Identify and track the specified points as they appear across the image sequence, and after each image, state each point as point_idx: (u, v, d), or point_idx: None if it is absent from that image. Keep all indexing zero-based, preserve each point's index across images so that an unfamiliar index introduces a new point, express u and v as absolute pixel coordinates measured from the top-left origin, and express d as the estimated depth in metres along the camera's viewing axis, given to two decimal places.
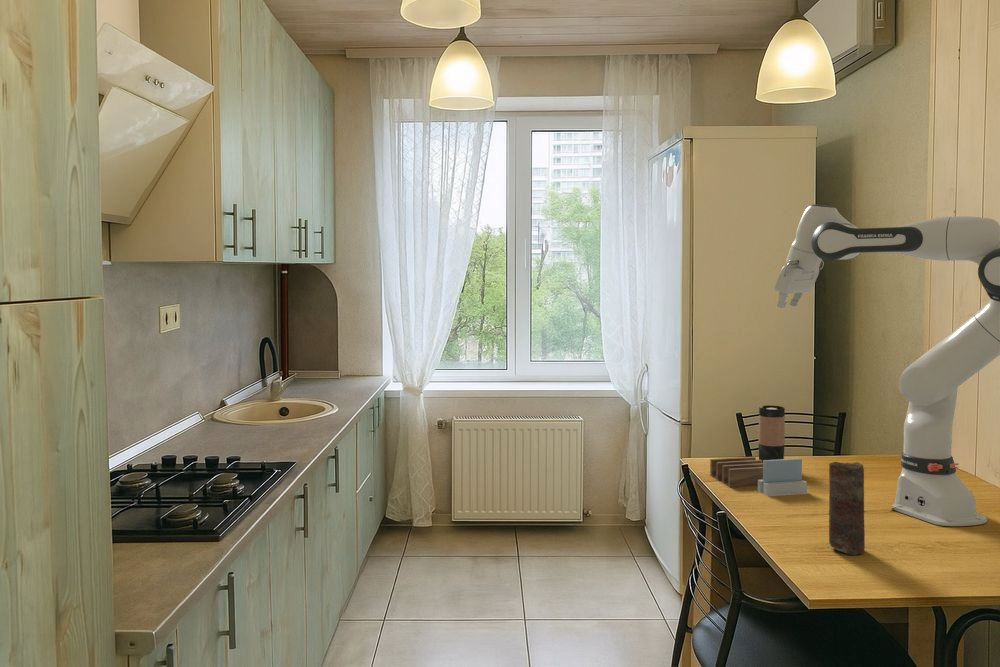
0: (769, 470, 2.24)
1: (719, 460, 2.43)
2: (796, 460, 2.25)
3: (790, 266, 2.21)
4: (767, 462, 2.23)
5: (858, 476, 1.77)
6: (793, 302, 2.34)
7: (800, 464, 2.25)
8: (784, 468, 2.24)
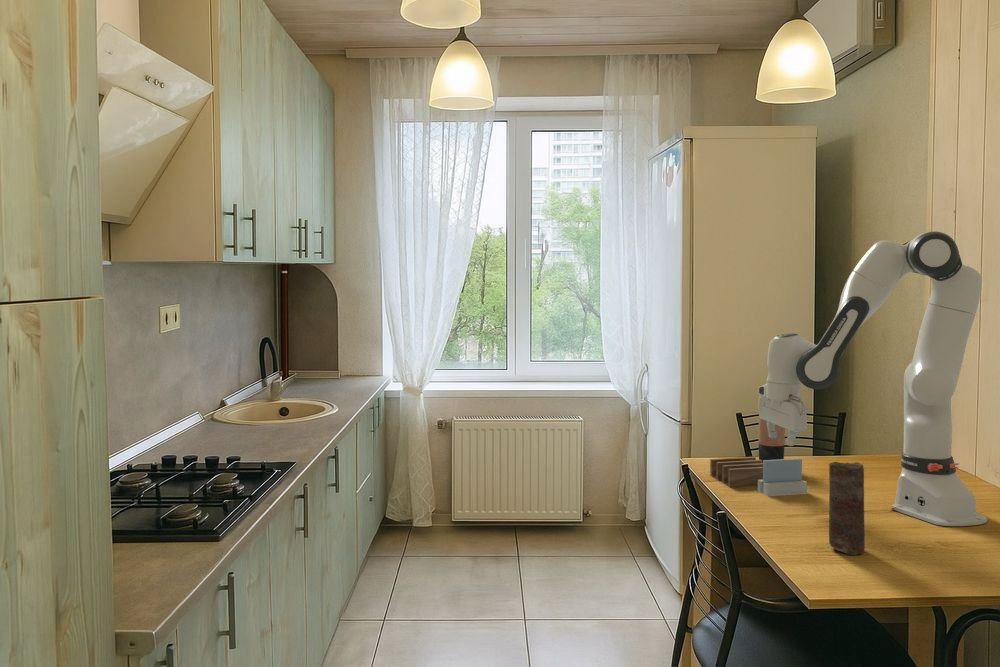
0: (769, 470, 2.24)
1: (719, 460, 2.43)
2: (796, 460, 2.25)
3: None
4: (767, 462, 2.23)
5: (858, 476, 1.77)
6: (773, 434, 2.28)
7: (800, 464, 2.25)
8: (784, 468, 2.24)
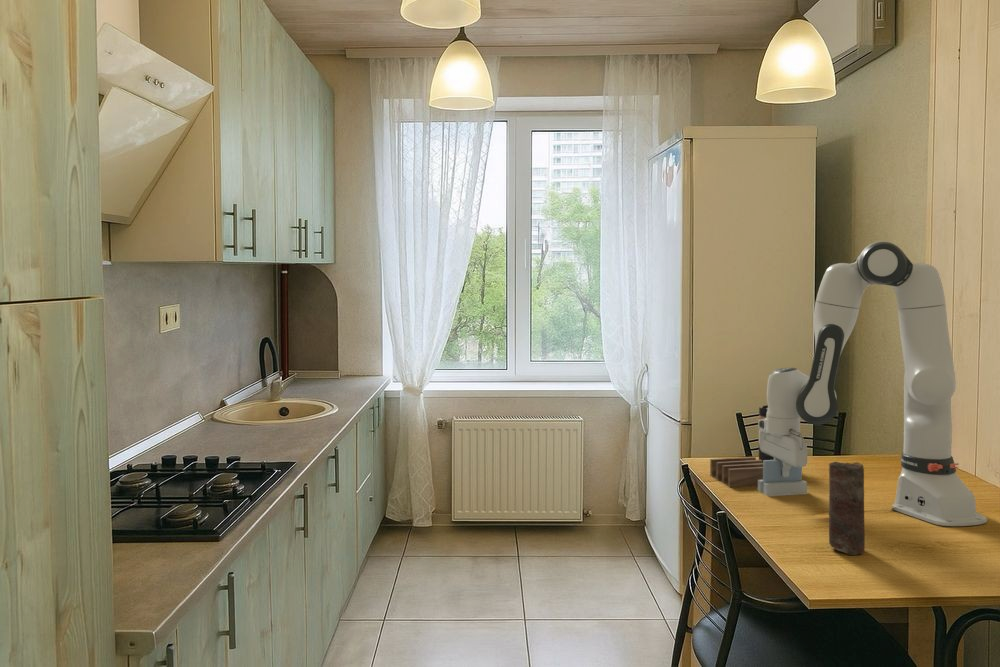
0: (769, 470, 2.24)
1: (719, 460, 2.43)
2: None
3: None
4: (767, 462, 2.23)
5: (858, 476, 1.77)
6: None
7: None
8: None
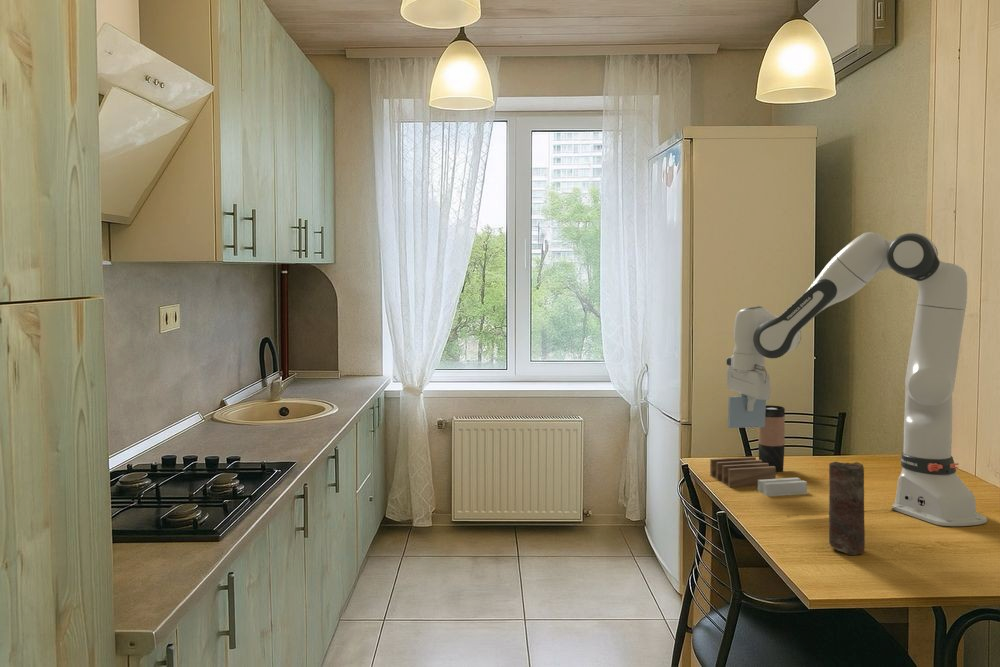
0: (734, 406, 2.33)
1: (719, 460, 2.43)
2: None
3: None
4: (732, 398, 2.33)
5: (858, 476, 1.77)
6: None
7: (764, 401, 2.35)
8: None
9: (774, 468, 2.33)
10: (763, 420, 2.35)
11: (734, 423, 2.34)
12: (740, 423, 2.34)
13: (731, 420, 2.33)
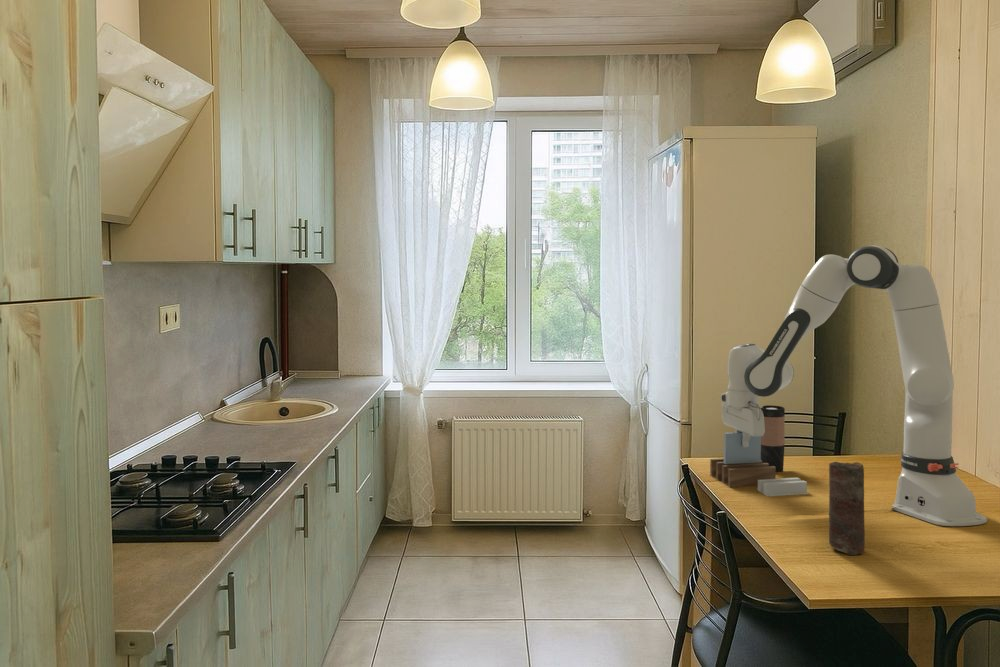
0: (730, 442, 2.36)
1: (719, 460, 2.43)
2: None
3: None
4: (727, 435, 2.36)
5: (858, 476, 1.77)
6: None
7: (759, 437, 2.38)
8: None
9: (774, 468, 2.33)
10: (759, 455, 2.38)
11: (730, 459, 2.37)
12: (736, 459, 2.37)
13: (727, 456, 2.36)
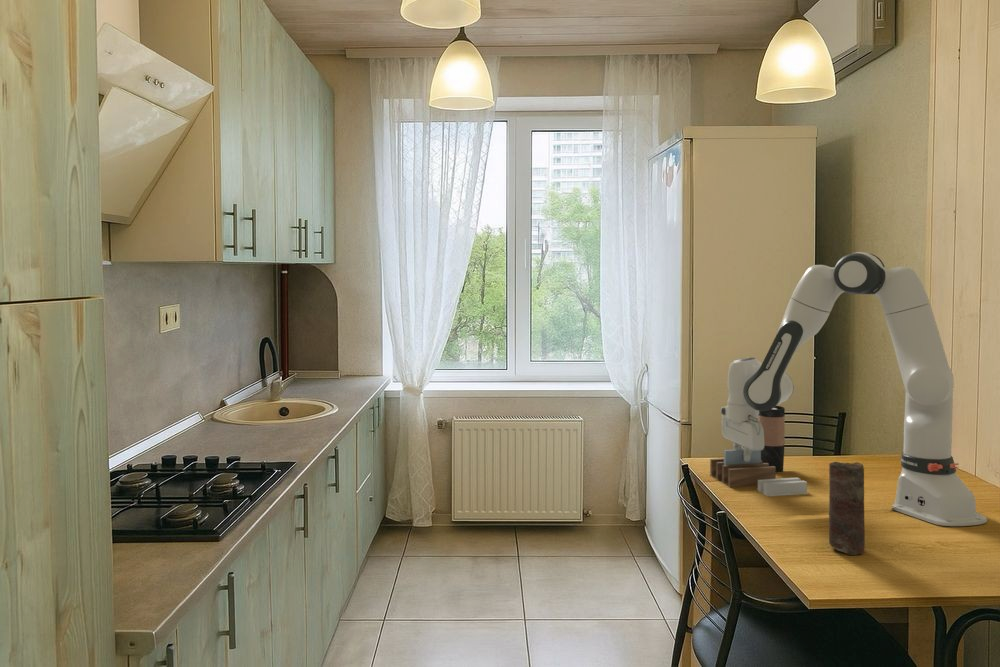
0: (730, 459, 2.37)
1: (719, 460, 2.43)
2: None
3: None
4: (727, 452, 2.36)
5: (858, 476, 1.77)
6: None
7: (759, 454, 2.38)
8: None
9: (774, 468, 2.33)
10: None
11: None
12: None
13: None
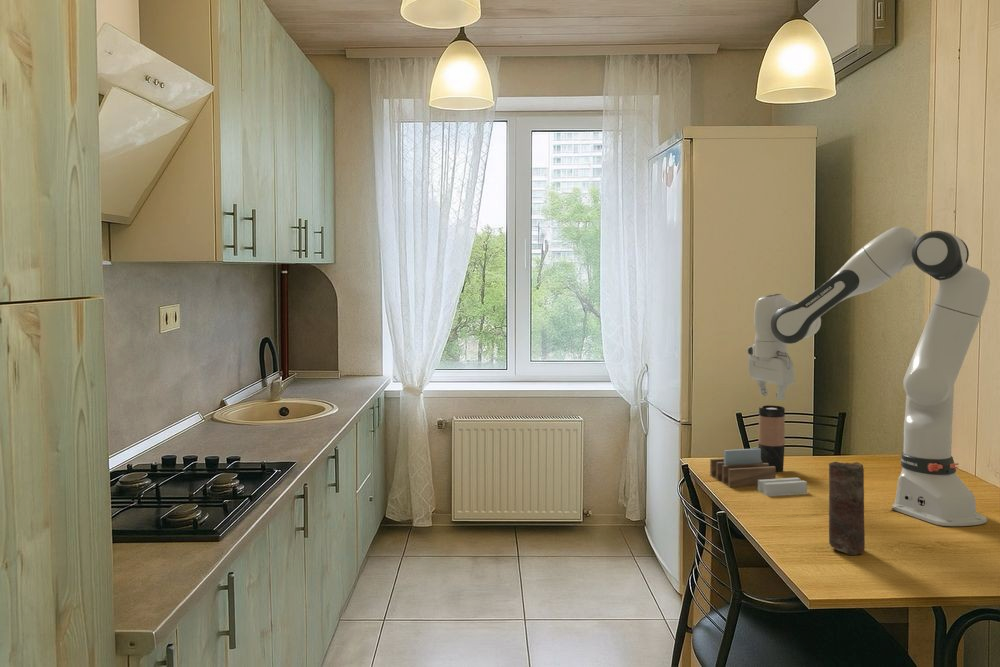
0: (730, 459, 2.37)
1: (719, 460, 2.43)
2: (755, 450, 2.38)
3: None
4: (727, 452, 2.36)
5: (858, 476, 1.77)
6: (764, 392, 2.40)
7: (759, 454, 2.38)
8: (744, 457, 2.37)
9: (774, 468, 2.33)
10: None
11: None
12: None
13: None
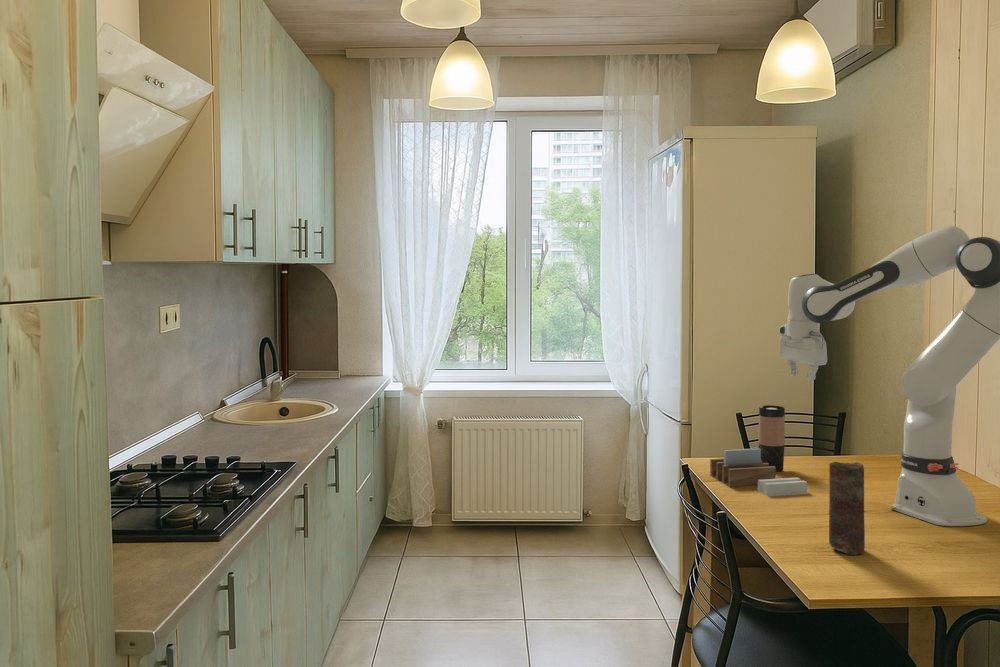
0: (730, 459, 2.37)
1: (719, 460, 2.43)
2: (755, 450, 2.38)
3: None
4: (727, 452, 2.36)
5: (858, 476, 1.77)
6: (795, 372, 2.40)
7: (759, 454, 2.38)
8: (744, 457, 2.37)
9: (774, 468, 2.33)
10: None
11: None
12: None
13: None
